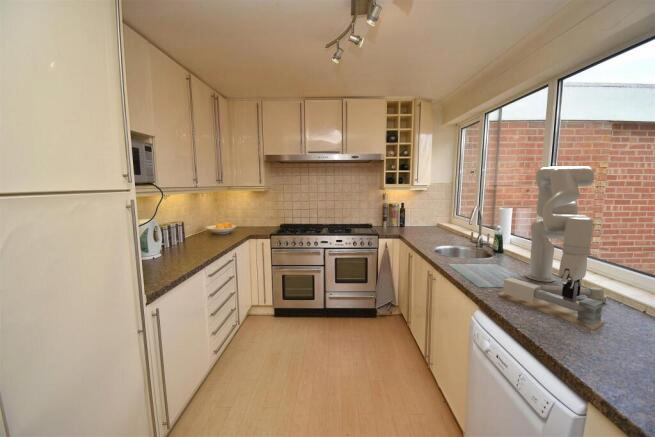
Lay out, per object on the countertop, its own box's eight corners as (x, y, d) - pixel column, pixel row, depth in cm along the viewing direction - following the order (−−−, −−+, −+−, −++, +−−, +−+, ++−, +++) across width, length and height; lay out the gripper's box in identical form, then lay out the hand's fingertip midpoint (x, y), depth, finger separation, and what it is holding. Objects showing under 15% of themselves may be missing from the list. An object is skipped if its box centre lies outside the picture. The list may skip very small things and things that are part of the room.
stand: (498, 295, 123) (499, 277, 122) (509, 291, 127) (511, 274, 126) (593, 329, 94) (595, 307, 93) (604, 323, 98) (607, 302, 97)
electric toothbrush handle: (531, 282, 128) (603, 284, 116) (533, 295, 129) (604, 299, 117) (534, 286, 124) (608, 288, 112) (535, 300, 124) (609, 304, 112)
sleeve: (503, 293, 123) (504, 279, 122) (509, 290, 125) (510, 277, 124) (532, 303, 112) (533, 288, 112) (539, 300, 115) (540, 286, 114)
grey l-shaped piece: (526, 294, 115) (528, 271, 114) (530, 293, 117) (532, 270, 115) (590, 316, 97) (594, 288, 95) (594, 314, 98) (598, 286, 96)
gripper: (574, 245, 107) (569, 288, 110) (552, 250, 100) (547, 296, 102) (599, 249, 101) (593, 295, 103) (577, 255, 93) (572, 304, 96)
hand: (570, 295), depth 103 cm, fingers open, 4 cm apart
